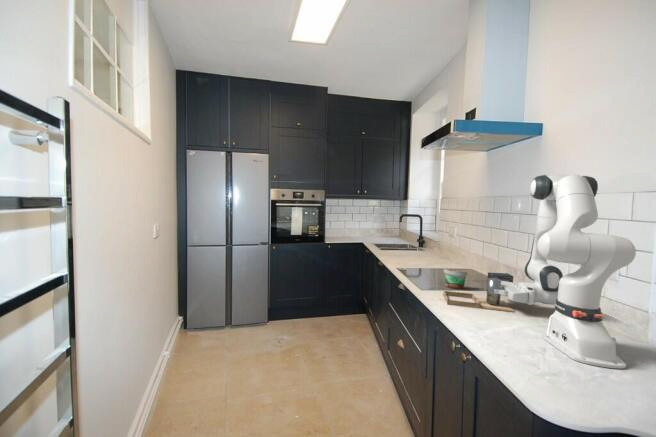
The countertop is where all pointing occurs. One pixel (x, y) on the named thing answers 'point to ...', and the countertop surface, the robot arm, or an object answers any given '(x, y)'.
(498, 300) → the slate tin
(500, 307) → the wooden tray board
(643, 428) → the countertop surface
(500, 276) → the small box
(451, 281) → the food container
